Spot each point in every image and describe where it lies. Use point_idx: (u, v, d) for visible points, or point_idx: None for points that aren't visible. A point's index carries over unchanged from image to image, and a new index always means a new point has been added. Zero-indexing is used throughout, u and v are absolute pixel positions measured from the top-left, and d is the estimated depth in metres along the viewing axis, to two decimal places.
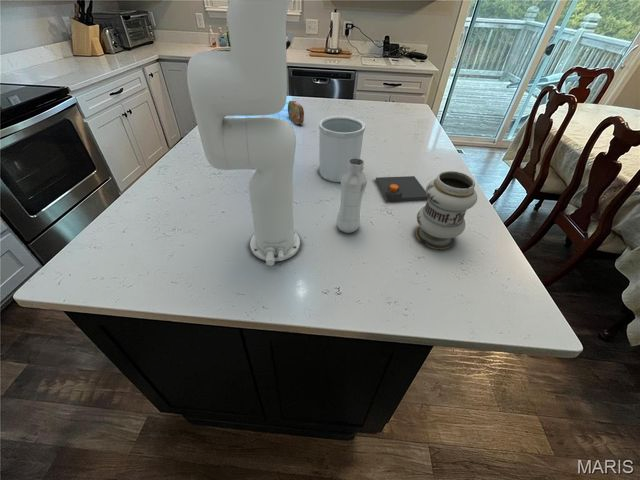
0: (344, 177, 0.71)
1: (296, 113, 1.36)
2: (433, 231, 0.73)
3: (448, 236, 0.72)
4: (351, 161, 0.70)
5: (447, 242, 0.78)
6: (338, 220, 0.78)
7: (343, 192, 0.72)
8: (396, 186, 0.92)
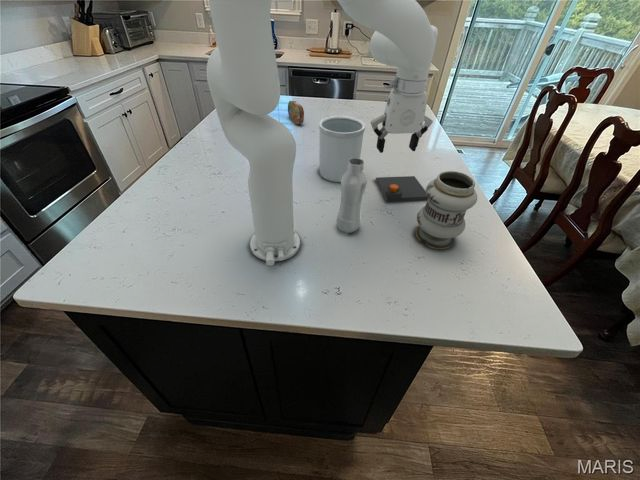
0: (344, 177, 0.71)
1: (296, 113, 1.36)
2: (433, 231, 0.73)
3: (448, 236, 0.72)
4: (351, 161, 0.70)
5: (447, 242, 0.78)
6: (338, 220, 0.78)
7: (343, 192, 0.72)
8: (396, 186, 0.92)
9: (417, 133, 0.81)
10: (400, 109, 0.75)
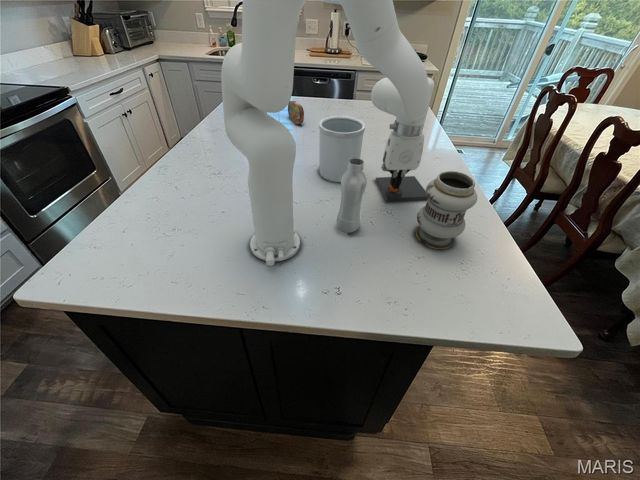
0: (344, 177, 0.71)
1: (296, 113, 1.36)
2: (433, 231, 0.73)
3: (448, 236, 0.72)
4: (351, 161, 0.70)
5: (447, 242, 0.78)
6: (338, 220, 0.78)
7: (343, 192, 0.72)
8: None
9: (403, 172, 0.87)
10: (399, 149, 0.81)
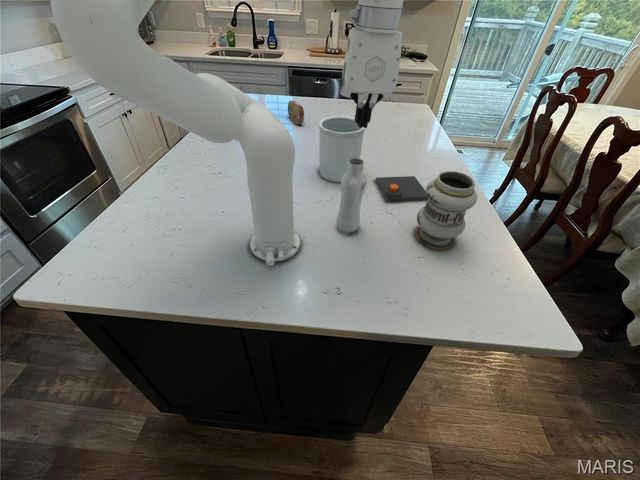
0: (344, 177, 0.71)
1: (296, 113, 1.36)
2: (433, 231, 0.73)
3: (448, 236, 0.72)
4: (351, 161, 0.70)
5: (447, 242, 0.78)
6: (338, 220, 0.78)
7: (343, 192, 0.72)
8: (396, 186, 0.92)
9: (372, 99, 0.59)
10: (364, 54, 0.52)
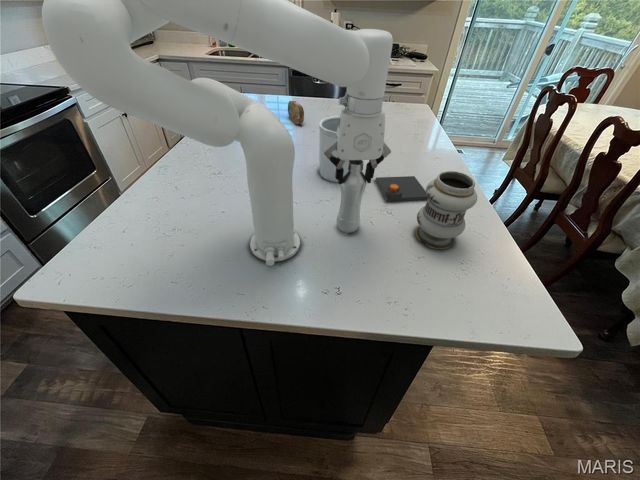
0: (344, 177, 0.71)
1: (296, 113, 1.36)
2: (433, 231, 0.73)
3: (448, 236, 0.72)
4: (351, 161, 0.70)
5: (447, 242, 0.78)
6: (338, 220, 0.78)
7: (343, 192, 0.72)
8: (396, 186, 0.92)
9: (372, 162, 0.68)
10: (352, 132, 0.61)
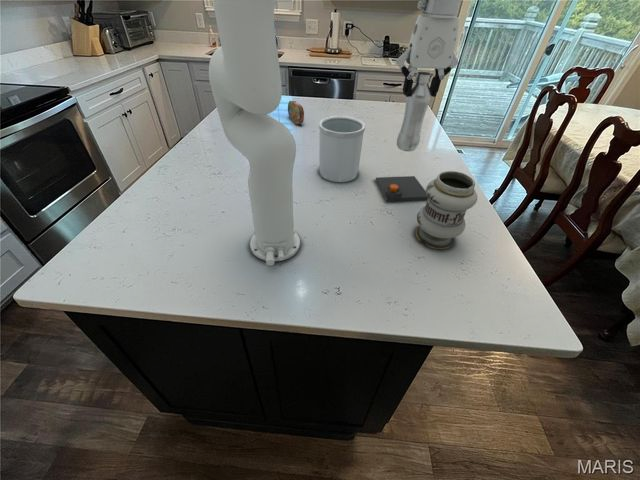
0: (411, 90, 0.76)
1: (296, 113, 1.36)
2: (433, 231, 0.73)
3: (448, 236, 0.72)
4: None
5: (447, 242, 0.78)
6: (399, 139, 0.83)
7: (409, 106, 0.77)
8: (396, 186, 0.92)
9: (440, 73, 0.73)
10: (428, 36, 0.66)
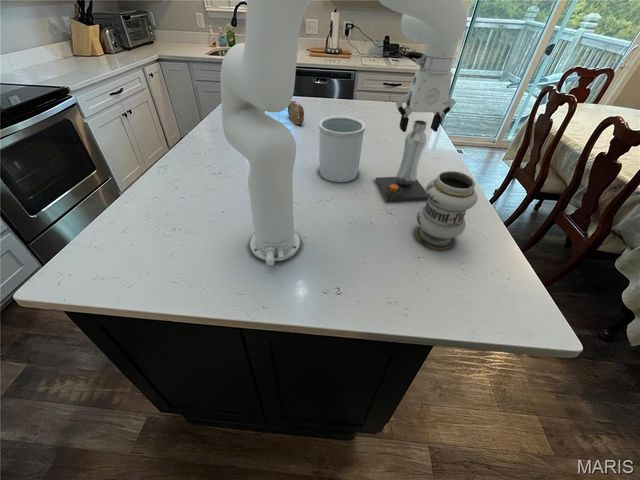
0: (409, 136, 0.88)
1: (296, 113, 1.36)
2: (433, 231, 0.73)
3: (448, 236, 0.72)
4: (415, 123, 0.87)
5: (447, 242, 0.78)
6: (399, 174, 0.96)
7: (407, 149, 0.89)
8: (396, 186, 0.92)
9: (440, 113, 0.83)
10: (426, 87, 0.77)
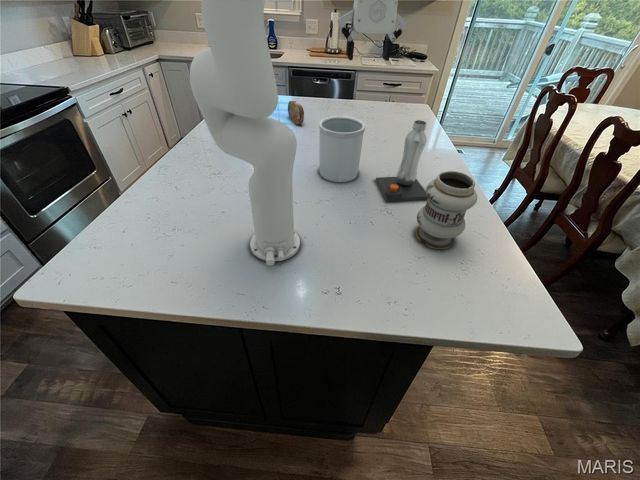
0: (409, 136, 0.88)
1: (296, 113, 1.36)
2: (433, 231, 0.73)
3: (448, 236, 0.72)
4: (415, 122, 0.87)
5: (447, 242, 0.78)
6: (399, 174, 0.96)
7: (407, 148, 0.89)
8: (396, 186, 0.92)
9: (390, 36, 0.73)
10: None
